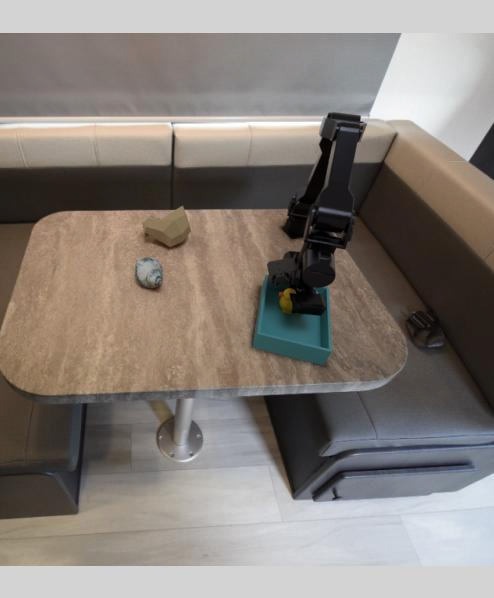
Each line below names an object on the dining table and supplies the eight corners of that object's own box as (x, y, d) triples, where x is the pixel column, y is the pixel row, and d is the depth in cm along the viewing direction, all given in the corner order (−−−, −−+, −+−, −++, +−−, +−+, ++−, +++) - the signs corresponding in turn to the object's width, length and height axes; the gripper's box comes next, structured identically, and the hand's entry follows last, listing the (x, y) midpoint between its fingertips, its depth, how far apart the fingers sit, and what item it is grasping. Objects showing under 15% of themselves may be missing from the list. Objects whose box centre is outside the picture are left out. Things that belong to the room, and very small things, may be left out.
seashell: (158, 270, 98) (155, 300, 90) (134, 260, 96) (128, 290, 88) (169, 254, 94) (166, 284, 85) (143, 243, 92) (138, 273, 83)
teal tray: (261, 288, 92) (265, 274, 88) (321, 301, 89) (329, 287, 85) (252, 347, 78) (257, 333, 75) (323, 365, 75) (332, 351, 72)
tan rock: (197, 237, 108) (176, 207, 109) (204, 222, 97) (180, 190, 99) (157, 262, 105) (136, 232, 107) (159, 250, 95) (135, 216, 96)
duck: (303, 304, 87) (312, 286, 83) (306, 316, 84) (315, 298, 80) (273, 302, 88) (280, 283, 83) (275, 313, 85) (282, 295, 80)
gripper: (270, 228, 81) (255, 278, 92) (280, 282, 68) (262, 333, 79) (319, 232, 81) (298, 282, 92) (339, 287, 68) (312, 337, 79)
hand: (291, 306), depth 85 cm, fingers closed on duck, 4 cm apart
